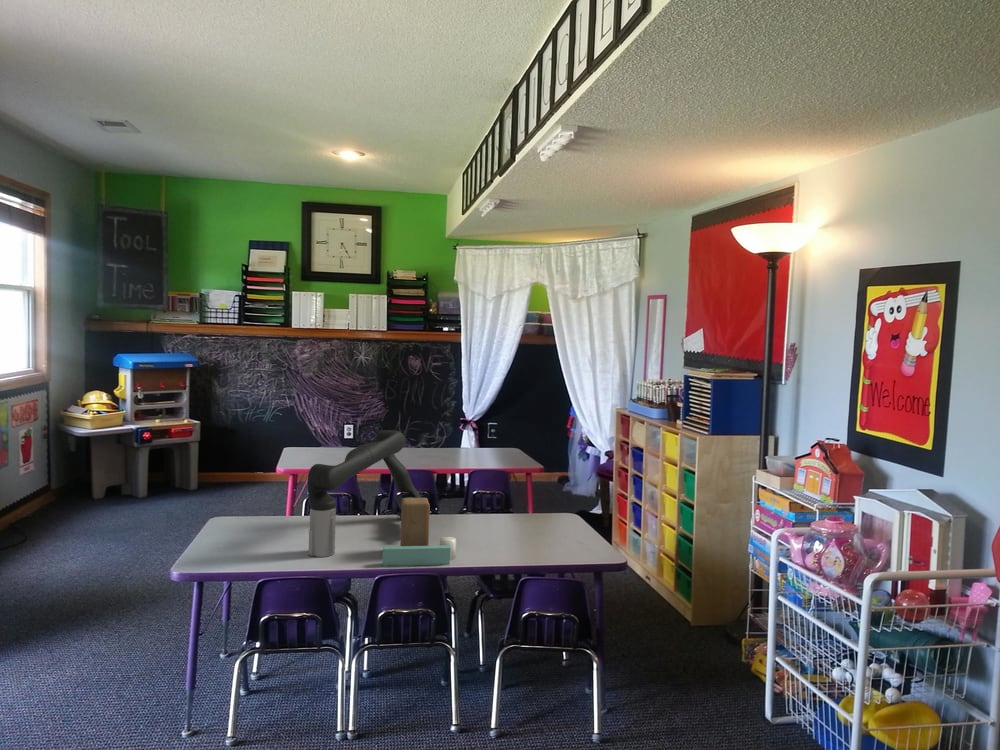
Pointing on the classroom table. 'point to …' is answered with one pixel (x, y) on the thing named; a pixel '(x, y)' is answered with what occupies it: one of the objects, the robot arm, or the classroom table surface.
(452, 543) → the cream rounded cylinder
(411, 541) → the wooden block
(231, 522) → the classroom table surface
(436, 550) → the teal block
